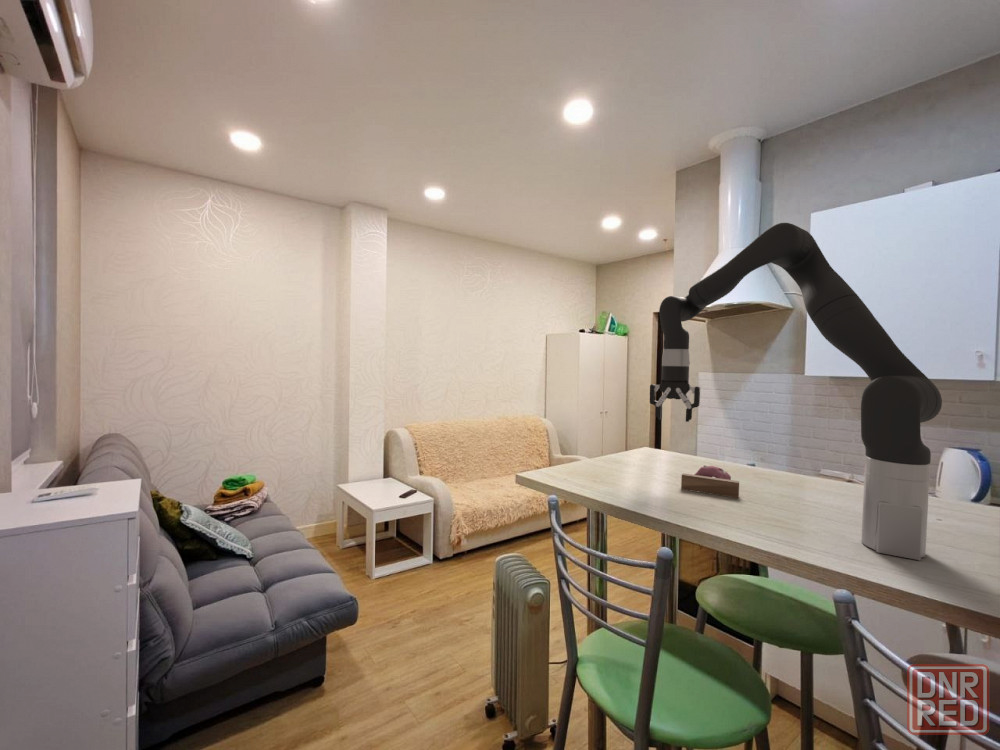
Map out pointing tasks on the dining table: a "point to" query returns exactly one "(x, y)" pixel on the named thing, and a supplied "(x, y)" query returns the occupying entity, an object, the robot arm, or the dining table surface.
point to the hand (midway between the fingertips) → (673, 420)
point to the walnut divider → (710, 485)
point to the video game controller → (713, 472)
